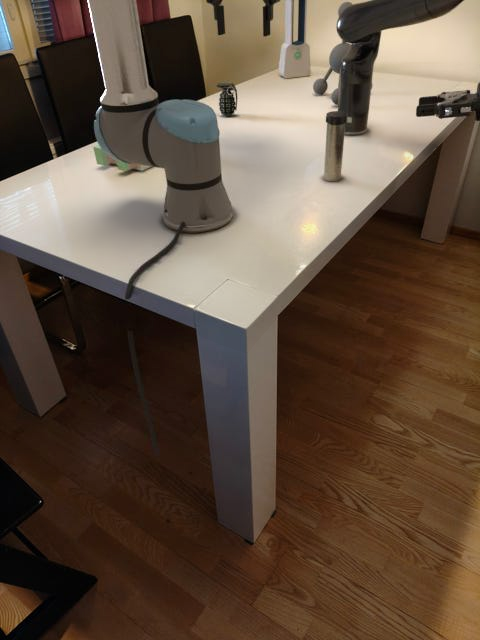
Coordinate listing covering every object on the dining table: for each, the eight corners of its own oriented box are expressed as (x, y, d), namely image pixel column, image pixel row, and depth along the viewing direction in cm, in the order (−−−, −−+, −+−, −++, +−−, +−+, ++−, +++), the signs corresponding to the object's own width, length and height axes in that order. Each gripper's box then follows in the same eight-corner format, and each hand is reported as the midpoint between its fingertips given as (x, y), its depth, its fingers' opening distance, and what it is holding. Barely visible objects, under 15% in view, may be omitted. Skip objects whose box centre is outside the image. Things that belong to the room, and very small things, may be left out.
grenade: (217, 117, 168) (214, 86, 162) (221, 112, 172) (219, 82, 166) (235, 117, 166) (233, 86, 160) (239, 113, 171) (238, 82, 165)
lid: (332, 117, 116) (332, 109, 115) (350, 120, 113) (351, 112, 112) (322, 122, 113) (322, 115, 112) (340, 125, 110) (341, 117, 109)
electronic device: (283, 78, 209) (284, -5, 191) (278, 75, 215) (278, -6, 197) (310, 75, 212) (314, -8, 193) (304, 72, 217) (307, -9, 199)
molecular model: (389, 100, 175) (402, 0, 156) (335, 109, 169) (342, 6, 150) (354, 87, 192) (362, -4, 174) (304, 94, 186) (307, 1, 168)
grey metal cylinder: (328, 173, 124) (332, 112, 115) (343, 176, 122) (349, 114, 112) (320, 179, 121) (324, 117, 112) (335, 182, 119) (340, 119, 110)
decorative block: (148, 117, 149) (198, 126, 139) (151, 138, 153) (200, 148, 143) (82, 141, 133) (133, 153, 123) (87, 165, 137) (138, 178, 127)
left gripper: (294, -71, 114) (292, 33, 127) (203, -65, 124) (210, 31, 137) (281, -70, 109) (280, 38, 122) (187, -64, 119) (196, 36, 132)
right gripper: (501, 73, 103) (420, 82, 109) (507, 85, 92) (416, 94, 98) (497, 111, 107) (418, 117, 113) (501, 127, 96) (414, 133, 102)
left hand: (243, 35), depth 129 cm, fingers open, 13 cm apart
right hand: (417, 106), depth 105 cm, fingers open, 8 cm apart
